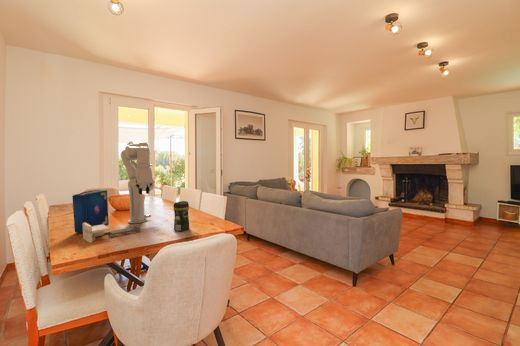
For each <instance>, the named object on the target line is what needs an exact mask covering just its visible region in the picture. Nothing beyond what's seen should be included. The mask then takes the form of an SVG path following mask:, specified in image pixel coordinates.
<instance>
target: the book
mask: <svg viewBox="0 0 520 346" xmlns="http://www.w3.org/2000/svg"><path fill="white" fill-rule="evenodd" d="M107 190H108V189H107ZM107 190H106V189H95V190H88V191H83V192H80V193H77V194H73V195H71V196H72V210H73V211H72V212H73V224H74V225H73V226H74V232H75V234H76V233H77V234H83V223H87V224H89V225H91V226H96V225H102V224H103V225H105V226H107V227H108V226H109V225H110V224H109V223H110V222H109V221H110V220H109V205H108V204H109V202H108V191H107Z"/></svg>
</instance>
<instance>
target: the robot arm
mask: <svg viewBox="0 0 520 346" xmlns="http://www.w3.org/2000/svg"><path fill="white" fill-rule="evenodd" d="M150 153H151V152H150V147H149V144H148V142H146V141H143V140H142V141H141V140H140V141H139V140H131V141H129V142H127V145H126V146H125V148H124V150H122V151H121V153H120V158H121V162H122V164H123V165H124V167H125V168H126V173H127V178H128V182H127V187H128V194H129V196H128V197H129V218H130V219H128V220H127V223H128V224H142V223H145V222H147V221H148V219H147V218H151V217H152V215H151V214H145V197H144V195H143V192H145V193H146V194H147V195H149V194H150V191H153V190H154V189H155V180H154V178H153V171H152V168H151V167H152V166H153V164H152V163H151V159H150V158H151V157H150V155H151V154H150ZM135 161H136V162H135Z"/></svg>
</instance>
